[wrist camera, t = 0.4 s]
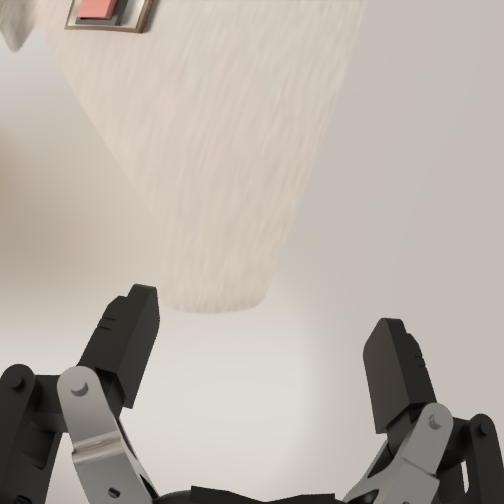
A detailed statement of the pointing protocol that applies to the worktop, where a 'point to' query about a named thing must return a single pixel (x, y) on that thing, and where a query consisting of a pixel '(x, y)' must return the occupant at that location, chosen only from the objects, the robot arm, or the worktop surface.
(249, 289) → the worktop surface
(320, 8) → the worktop surface
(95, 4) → the button
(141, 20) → the metal control panel
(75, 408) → the robot arm
